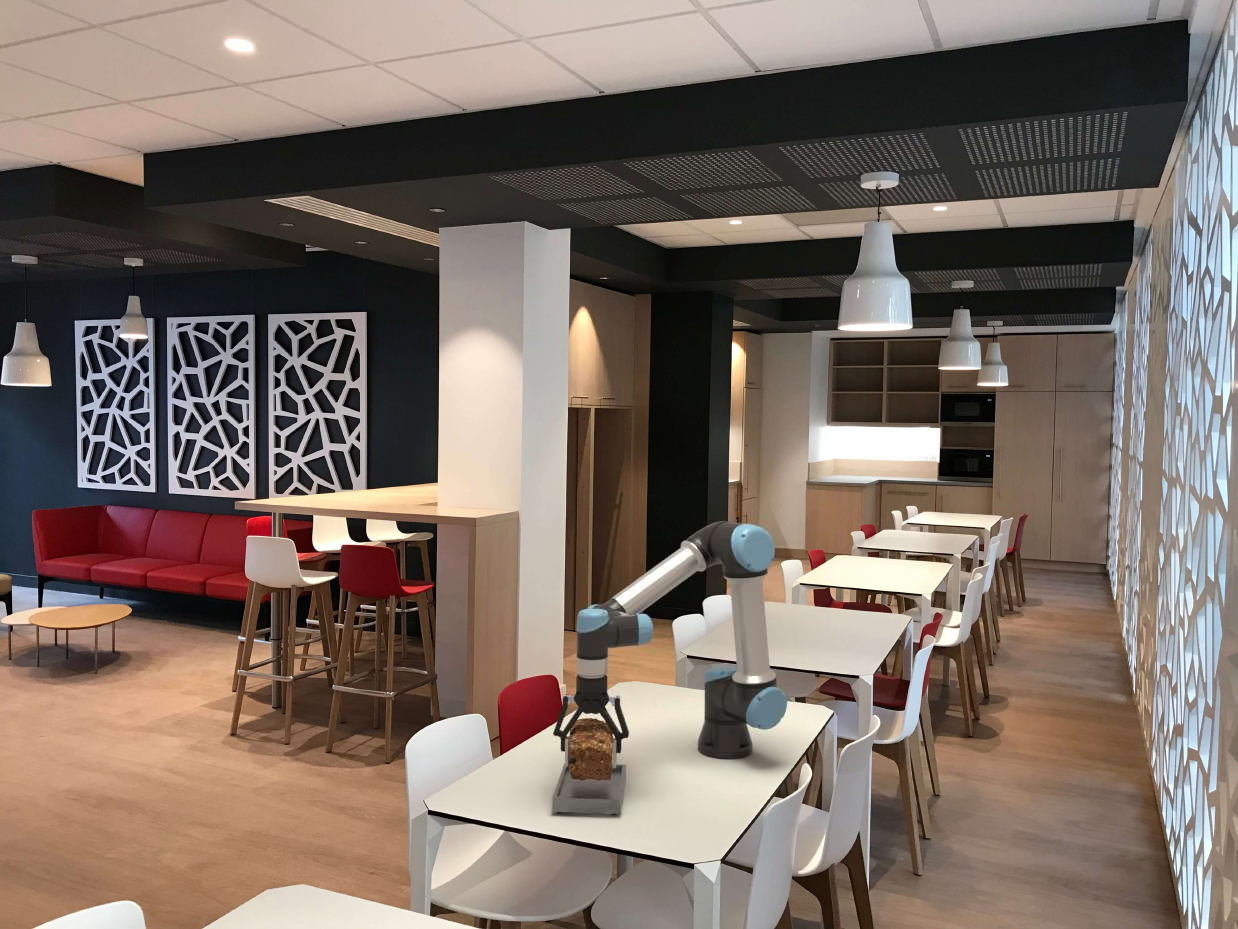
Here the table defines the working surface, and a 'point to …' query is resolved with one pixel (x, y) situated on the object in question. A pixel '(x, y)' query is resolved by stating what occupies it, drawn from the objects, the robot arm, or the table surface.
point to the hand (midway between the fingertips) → (590, 765)
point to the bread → (590, 750)
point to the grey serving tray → (590, 793)
